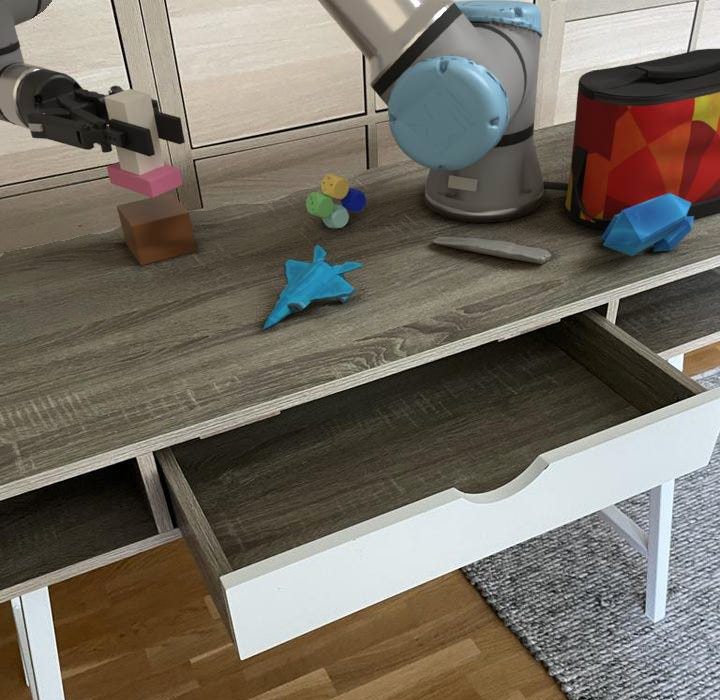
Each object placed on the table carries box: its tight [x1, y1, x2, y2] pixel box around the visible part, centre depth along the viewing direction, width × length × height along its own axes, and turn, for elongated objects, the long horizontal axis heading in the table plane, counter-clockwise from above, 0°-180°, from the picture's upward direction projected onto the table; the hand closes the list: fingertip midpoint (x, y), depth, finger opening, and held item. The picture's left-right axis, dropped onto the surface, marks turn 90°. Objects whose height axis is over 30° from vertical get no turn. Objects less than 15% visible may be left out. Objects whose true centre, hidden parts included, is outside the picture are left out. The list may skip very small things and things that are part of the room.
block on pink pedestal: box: [104, 88, 183, 198], centre depth 99 cm, size 8×4×10 cm, turn 50°
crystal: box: [600, 193, 694, 257], centre depth 97 cm, size 7×9×12 cm
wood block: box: [116, 192, 197, 266], centre depth 105 cm, size 7×7×5 cm
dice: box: [305, 173, 367, 230], centre depth 107 cm, size 8×3×6 cm, turn 127°
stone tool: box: [432, 236, 552, 265], centre depth 101 cm, size 14×1×5 cm
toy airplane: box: [262, 243, 365, 330], centre depth 93 cm, size 12×10×4 cm
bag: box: [564, 48, 720, 230], centre depth 104 cm, size 30×14×16 cm, turn 114°
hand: (164, 136), depth 95 cm, fingers closed on block on pink pedestal, 4 cm apart
